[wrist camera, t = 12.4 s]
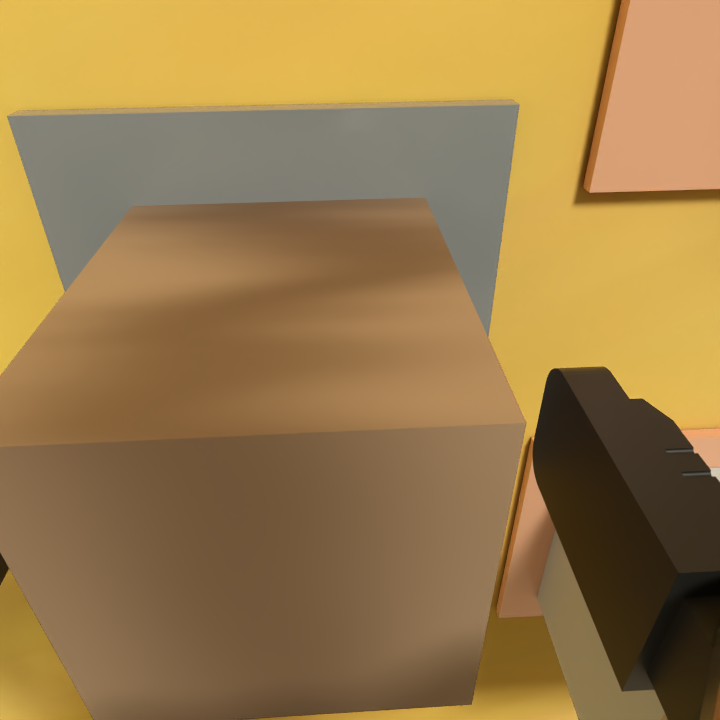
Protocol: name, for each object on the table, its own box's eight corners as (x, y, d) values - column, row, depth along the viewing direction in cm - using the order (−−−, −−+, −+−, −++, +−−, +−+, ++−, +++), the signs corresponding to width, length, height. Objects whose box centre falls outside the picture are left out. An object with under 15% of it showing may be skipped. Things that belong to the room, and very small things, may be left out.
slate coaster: (512, 99, 10) (518, 104, 9) (467, 455, 14) (470, 467, 14) (17, 110, 9) (7, 116, 9) (132, 471, 14) (128, 483, 14)
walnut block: (425, 197, 10) (527, 423, 5) (413, 420, 13) (471, 704, 8) (131, 205, 10) (-58, 449, 5) (185, 429, 13) (97, 728, 8)
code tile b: (815, 424, 14) (825, 432, 14) (718, 596, 18) (724, 605, 18) (531, 437, 14) (535, 446, 14) (496, 609, 18) (498, 619, 18)
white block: (767, 465, 14) (1001, 726, 10) (703, 587, 17) (857, 838, 12) (569, 474, 14) (702, 746, 9) (536, 597, 17) (625, 856, 12)
